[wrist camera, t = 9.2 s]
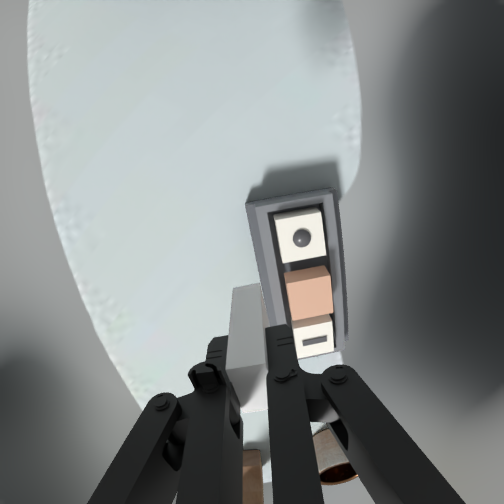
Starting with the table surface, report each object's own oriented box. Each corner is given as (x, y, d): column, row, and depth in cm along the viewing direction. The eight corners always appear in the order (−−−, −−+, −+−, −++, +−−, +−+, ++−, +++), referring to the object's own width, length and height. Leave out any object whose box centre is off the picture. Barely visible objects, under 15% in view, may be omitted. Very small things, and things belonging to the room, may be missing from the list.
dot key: (273, 214, 35) (275, 220, 32) (315, 206, 35) (321, 212, 32) (280, 254, 37) (283, 264, 34) (320, 246, 36) (326, 255, 33)
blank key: (283, 272, 36) (286, 283, 34) (324, 265, 36) (330, 275, 33) (289, 308, 38) (292, 320, 35) (327, 300, 38) (333, 312, 35)
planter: (356, 419, 51) (368, 455, 42) (356, 444, 55) (366, 477, 46) (304, 432, 52) (310, 469, 43) (310, 456, 56) (315, 489, 47)
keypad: (245, 202, 37) (245, 209, 33) (332, 187, 36) (341, 192, 33) (274, 347, 44) (276, 363, 41) (344, 332, 44) (352, 348, 40)
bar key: (290, 316, 40) (293, 329, 37) (326, 309, 39) (332, 322, 36) (294, 345, 41) (297, 359, 38) (329, 338, 41) (334, 351, 38)
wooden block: (238, 449, 54) (237, 521, 37) (259, 448, 54) (262, 520, 37) (242, 468, 57) (242, 532, 40) (262, 467, 57) (264, 531, 40)
